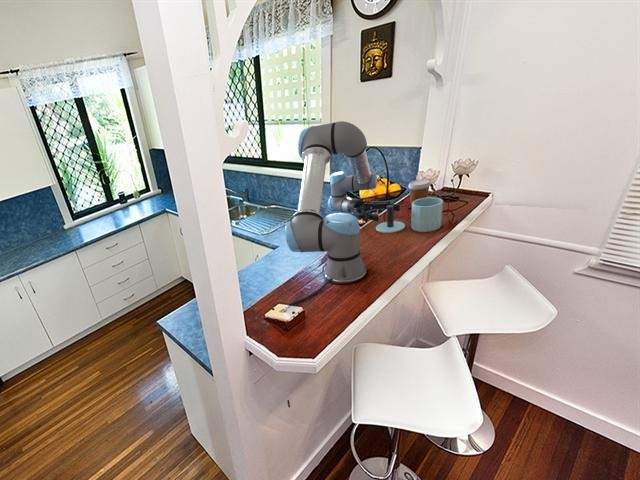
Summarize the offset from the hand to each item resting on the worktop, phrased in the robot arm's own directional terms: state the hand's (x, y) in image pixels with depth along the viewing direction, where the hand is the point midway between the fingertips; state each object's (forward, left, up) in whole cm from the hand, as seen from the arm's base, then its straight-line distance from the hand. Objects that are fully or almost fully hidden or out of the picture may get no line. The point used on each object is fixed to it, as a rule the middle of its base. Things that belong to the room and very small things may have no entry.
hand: (388, 213), depth 156 cm
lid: (0, -1, -7) cm, 7 cm away
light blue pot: (+8, -13, -7) cm, 17 cm away
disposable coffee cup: (+28, +6, -8) cm, 30 cm away
